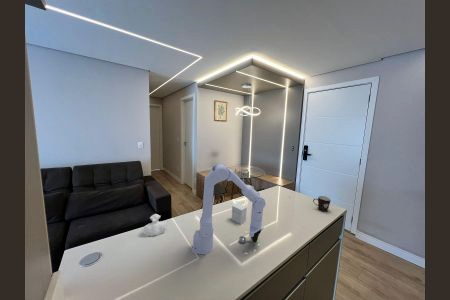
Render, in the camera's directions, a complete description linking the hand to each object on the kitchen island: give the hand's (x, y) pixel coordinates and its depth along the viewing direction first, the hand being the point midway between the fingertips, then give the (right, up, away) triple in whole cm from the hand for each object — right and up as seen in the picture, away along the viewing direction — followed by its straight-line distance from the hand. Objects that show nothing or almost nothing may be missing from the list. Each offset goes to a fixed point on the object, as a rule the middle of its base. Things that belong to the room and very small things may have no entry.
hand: (254, 241), depth 88 cm
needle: (-3, -1, +2) cm, 4 cm away
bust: (-55, +1, +7) cm, 56 cm away
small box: (-7, +1, +22) cm, 23 cm away
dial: (-6, -2, +2) cm, 7 cm away
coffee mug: (+60, +1, +44) cm, 74 cm away
